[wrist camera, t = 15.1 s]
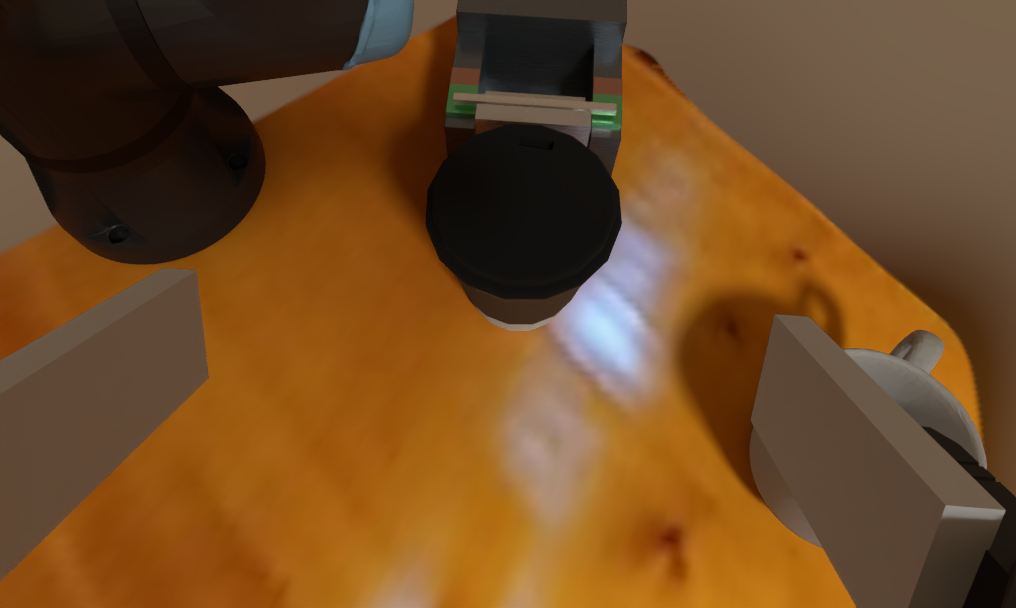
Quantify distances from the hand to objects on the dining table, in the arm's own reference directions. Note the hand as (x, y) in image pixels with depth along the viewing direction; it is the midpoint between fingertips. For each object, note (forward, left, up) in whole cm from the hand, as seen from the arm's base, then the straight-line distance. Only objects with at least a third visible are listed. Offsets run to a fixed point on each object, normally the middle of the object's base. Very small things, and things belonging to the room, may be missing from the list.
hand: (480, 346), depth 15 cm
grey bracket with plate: (+18, +17, -26) cm, 36 cm away
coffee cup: (+11, +10, -28) cm, 31 cm away
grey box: (+21, +20, -28) cm, 40 cm away
